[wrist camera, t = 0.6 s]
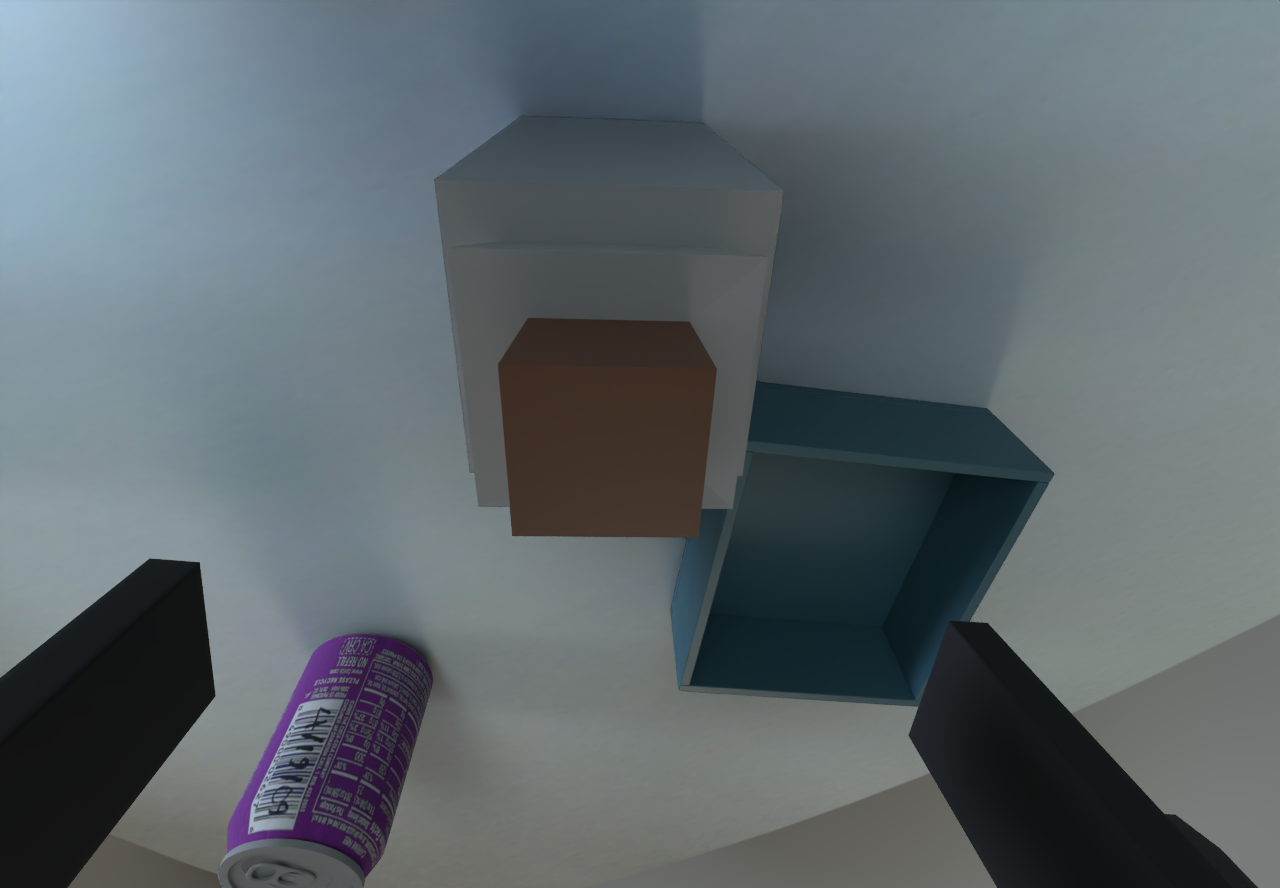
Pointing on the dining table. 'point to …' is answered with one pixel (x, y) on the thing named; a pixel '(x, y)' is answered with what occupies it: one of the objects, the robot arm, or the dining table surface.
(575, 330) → the perfume bottle
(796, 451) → the case
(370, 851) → the beverage can
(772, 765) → the dining table surface
